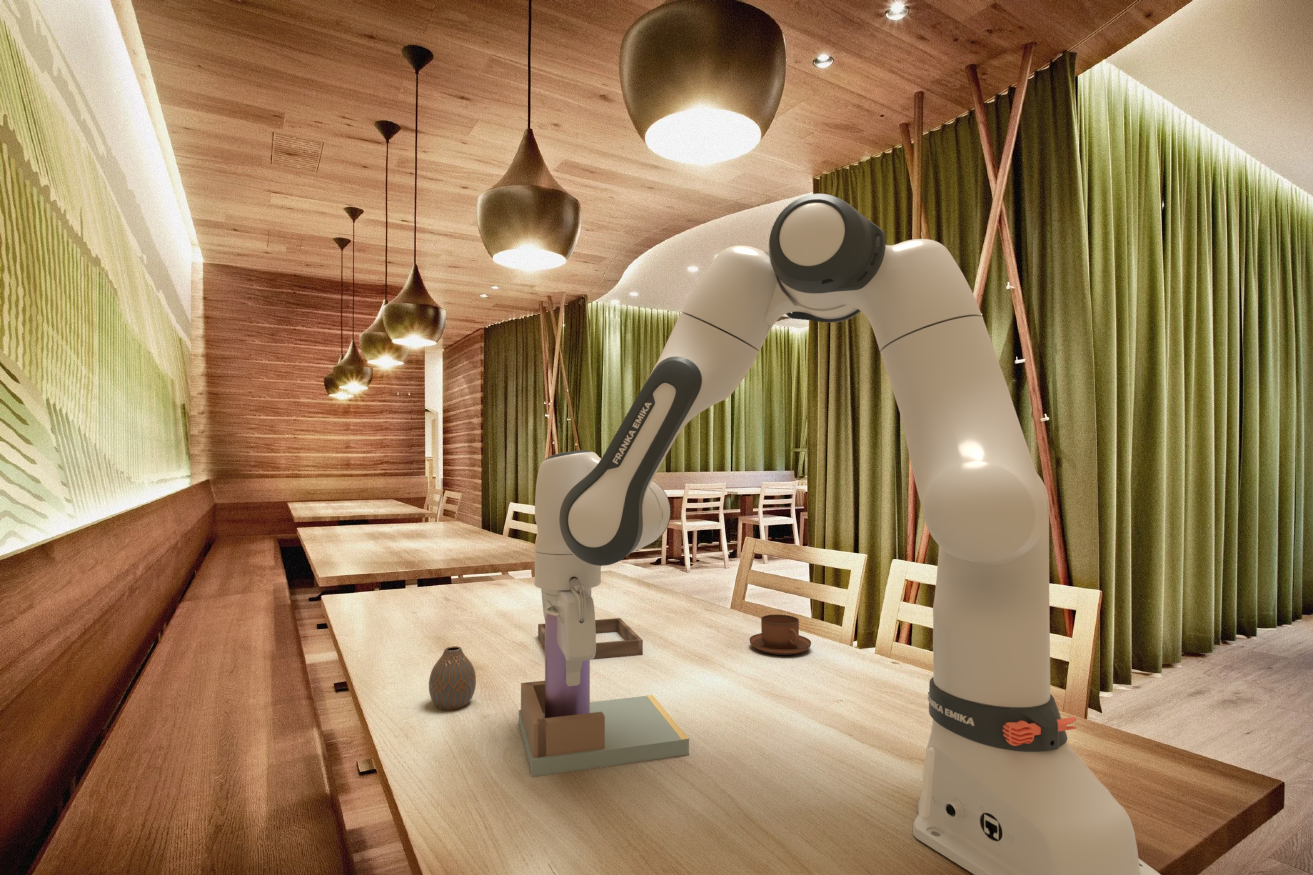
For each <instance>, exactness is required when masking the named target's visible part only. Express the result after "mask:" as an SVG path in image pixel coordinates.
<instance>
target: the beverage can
mask: <svg viewBox="0 0 1313 875" xmlns="http://www.w3.org/2000/svg"><path fill="white" fill-rule="evenodd" d="M554 609H555V608H554V606H550V607H548V608H547V614H546V617H545V619H544V622H545V623H544V624H545V651H544V681H545V718H552V717H561V716H569V715H578V714H586V713H590V702H591V694H590V692H591V660H586V661H583V663H582V667H581V671H580V684H579V685H576V686H568V685H567V684H566V681H565V669H566V659H565V656H564V655H563V653H562V651H561V649H560V647H559V646H558V644H557V615H559V613H558V612H557V611H554ZM579 622H580V621H579ZM583 622H584V621H583ZM583 622H582V623H583ZM580 623H581V622H580Z"/></svg>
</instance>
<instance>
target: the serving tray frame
mask: <svg viewBox="0 0 1313 875" xmlns="http://www.w3.org/2000/svg"><path fill="white" fill-rule="evenodd" d="M595 628H596V634H611V633H612V634H613V633H617V634H618V635H619V636H620V637H621V638H622V639H623V640H617V641H616V640H615V641H602V642H596V653H595V657H594V659H592V660H593V661H594V660H603V659H615V658H627V657H638V656H643V655H644V654H643V652H644V651H643V650H644V647H643V646H644V645H643V644H644V640H643V639H642V638H641V637H640V636H639V635H638V633H636V632H635V630H633V629H632V628H631V627H630V626H629V625H628V624H627V623H626V622H625V621H624V620H623V618H620V617H616V618H613V617H612V618H600V619H595ZM537 638H538V640H539V642H540V644H541V646H542V649H543V651H544V652H545V623H538V625H537ZM592 660H591V661H592Z"/></svg>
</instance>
